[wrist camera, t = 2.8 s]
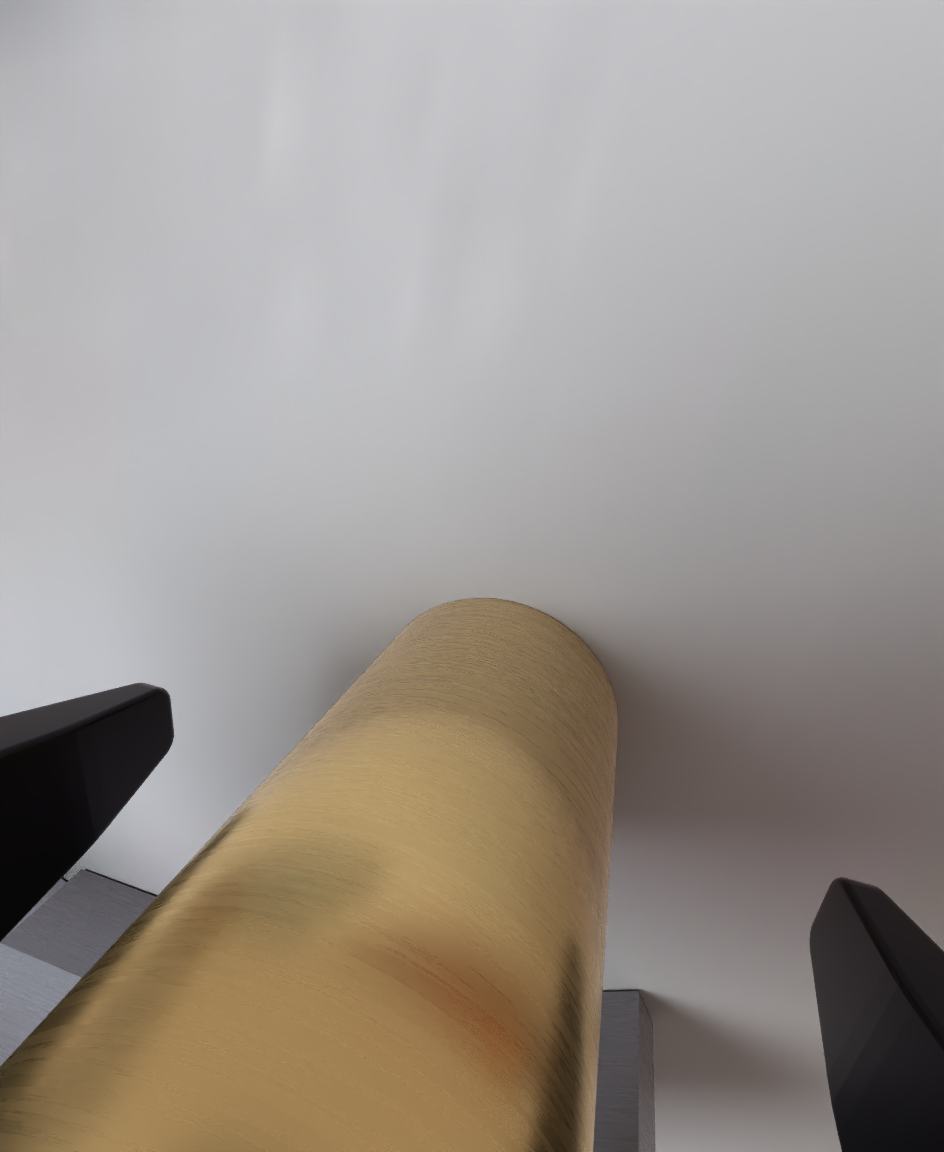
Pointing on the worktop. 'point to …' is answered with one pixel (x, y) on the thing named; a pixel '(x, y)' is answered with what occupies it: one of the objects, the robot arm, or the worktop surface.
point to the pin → (369, 929)
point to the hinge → (107, 908)
